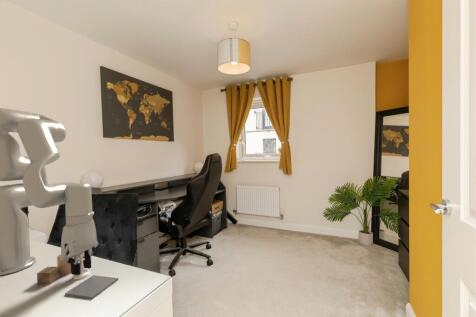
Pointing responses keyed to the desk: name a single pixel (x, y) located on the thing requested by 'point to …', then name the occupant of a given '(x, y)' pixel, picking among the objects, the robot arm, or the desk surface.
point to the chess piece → (81, 268)
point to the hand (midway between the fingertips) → (81, 270)
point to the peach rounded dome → (63, 266)
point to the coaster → (91, 287)
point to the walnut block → (47, 275)
